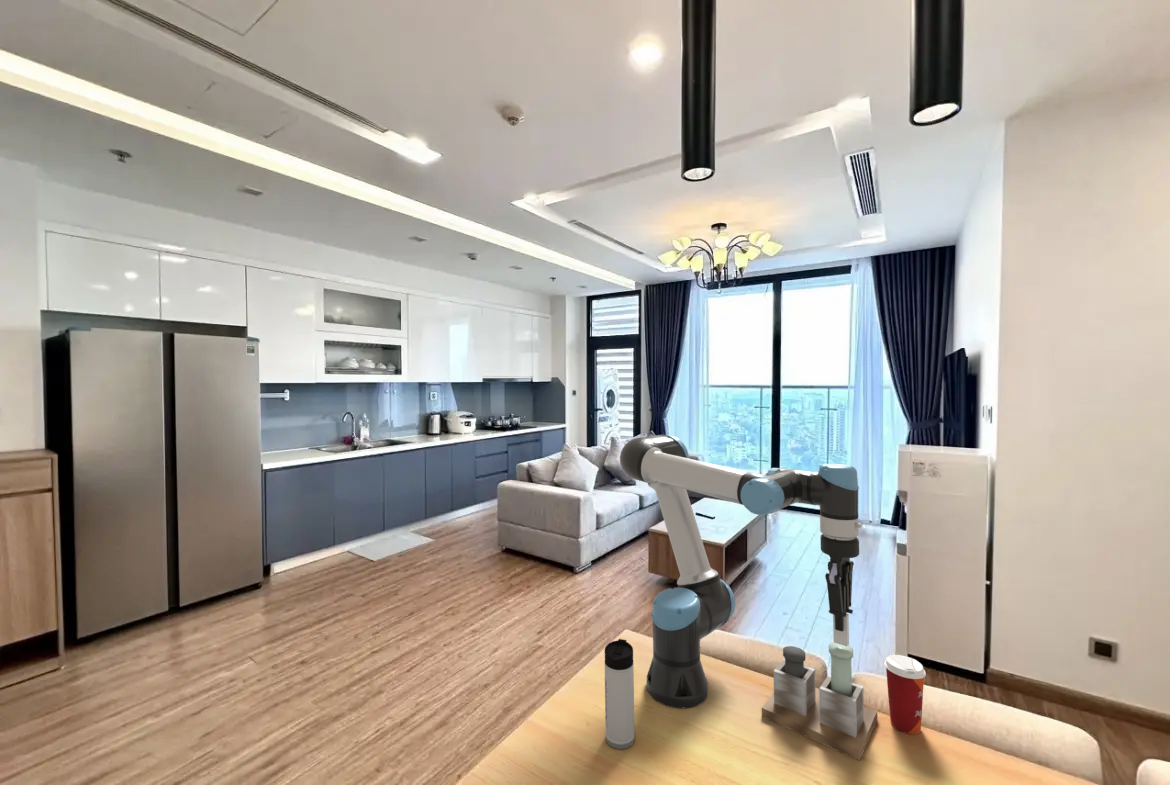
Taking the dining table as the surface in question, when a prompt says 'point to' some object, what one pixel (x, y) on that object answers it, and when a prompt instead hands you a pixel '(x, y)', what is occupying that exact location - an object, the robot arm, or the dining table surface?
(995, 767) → the dining table surface
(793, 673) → the gray plug
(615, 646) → the travel mug
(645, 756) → the dining table surface
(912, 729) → the paper cup
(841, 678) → the sage plug
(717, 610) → the robot arm
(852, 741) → the socket board
